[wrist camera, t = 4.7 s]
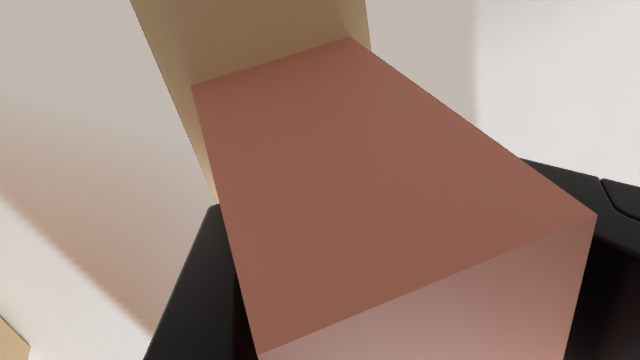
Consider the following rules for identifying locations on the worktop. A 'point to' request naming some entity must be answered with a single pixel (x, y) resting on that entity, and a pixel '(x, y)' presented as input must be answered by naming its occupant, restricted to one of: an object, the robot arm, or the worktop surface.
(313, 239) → the stub
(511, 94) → the worktop surface
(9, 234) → the worktop surface
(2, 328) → the hinged cream panel
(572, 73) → the worktop surface
